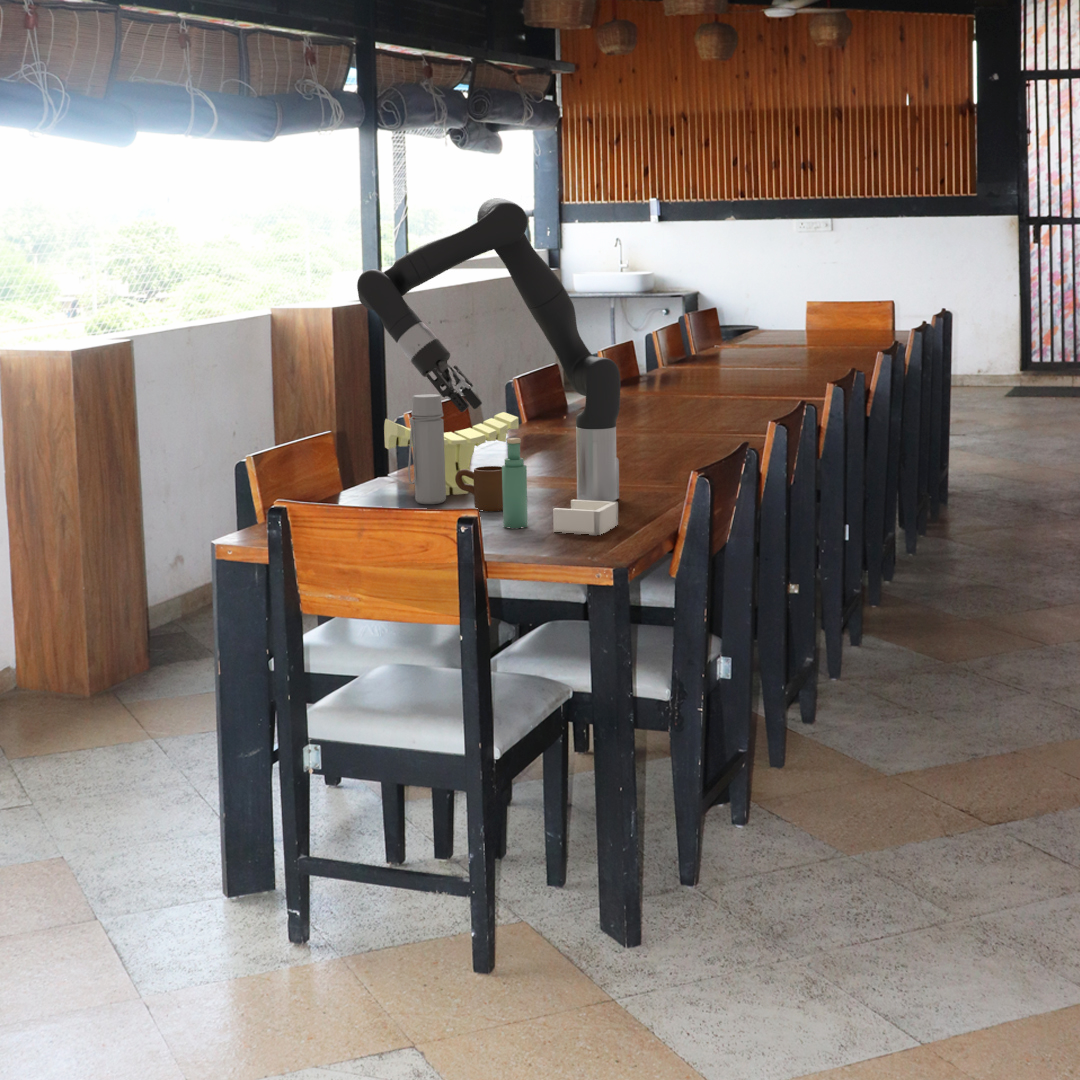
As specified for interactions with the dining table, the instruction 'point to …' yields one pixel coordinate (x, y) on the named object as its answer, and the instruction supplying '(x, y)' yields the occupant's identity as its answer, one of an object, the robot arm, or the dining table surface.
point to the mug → (484, 487)
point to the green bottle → (514, 487)
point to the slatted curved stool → (457, 444)
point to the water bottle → (427, 449)
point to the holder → (586, 517)
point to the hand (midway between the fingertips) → (472, 407)
